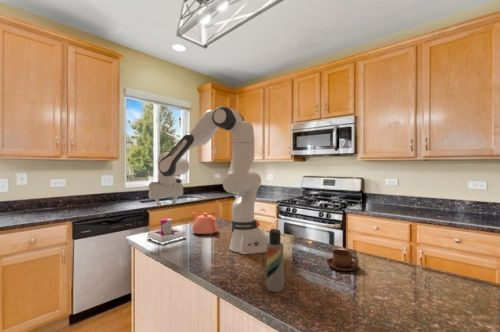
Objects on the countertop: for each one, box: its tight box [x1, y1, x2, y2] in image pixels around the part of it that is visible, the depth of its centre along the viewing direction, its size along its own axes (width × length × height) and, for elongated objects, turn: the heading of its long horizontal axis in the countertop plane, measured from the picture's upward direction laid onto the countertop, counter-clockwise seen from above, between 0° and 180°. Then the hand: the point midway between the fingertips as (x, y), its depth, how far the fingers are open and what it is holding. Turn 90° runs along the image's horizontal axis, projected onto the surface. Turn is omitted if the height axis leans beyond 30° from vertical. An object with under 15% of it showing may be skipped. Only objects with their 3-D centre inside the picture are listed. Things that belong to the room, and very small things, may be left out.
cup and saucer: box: [326, 249, 359, 272], centre depth 105 cm, size 12×12×6 cm
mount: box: [147, 227, 187, 243], centre depth 147 cm, size 15×15×5 cm
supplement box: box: [160, 217, 173, 235], centre depth 147 cm, size 6×6×12 cm
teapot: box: [191, 211, 219, 235], centre depth 160 cm, size 22×16×12 cm
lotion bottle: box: [266, 228, 285, 293], centre depth 88 cm, size 6×6×20 cm
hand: (166, 205), depth 147 cm, fingers open, 8 cm apart
